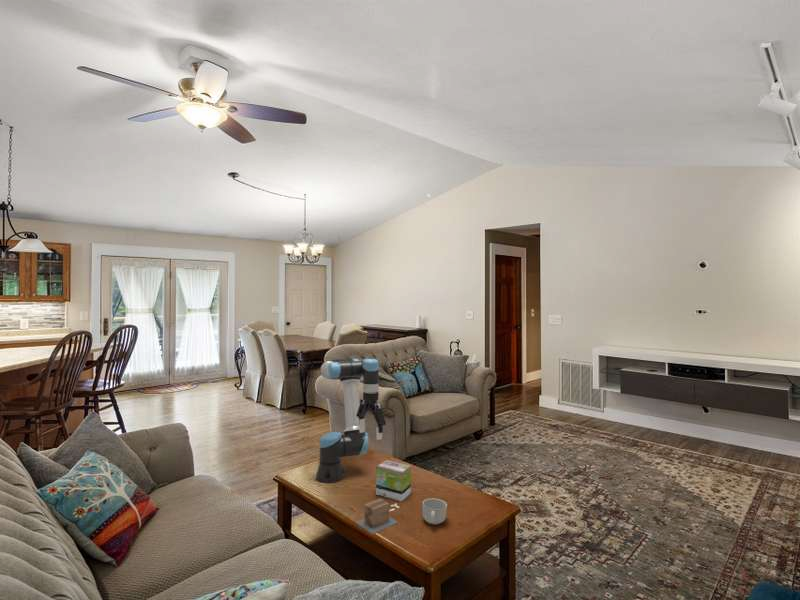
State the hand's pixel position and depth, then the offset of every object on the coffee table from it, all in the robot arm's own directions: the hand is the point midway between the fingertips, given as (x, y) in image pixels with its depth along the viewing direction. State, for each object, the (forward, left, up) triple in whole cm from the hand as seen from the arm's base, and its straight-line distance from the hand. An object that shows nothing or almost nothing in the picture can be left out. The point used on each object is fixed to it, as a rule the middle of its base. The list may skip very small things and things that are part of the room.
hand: (370, 435), depth 210 cm
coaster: (+18, -10, -32) cm, 38 cm away
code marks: (+12, +4, -32) cm, 34 cm away
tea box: (+2, +13, -32) cm, 35 cm away
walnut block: (+18, -10, -31) cm, 37 cm away
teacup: (+34, +9, -32) cm, 48 cm away
